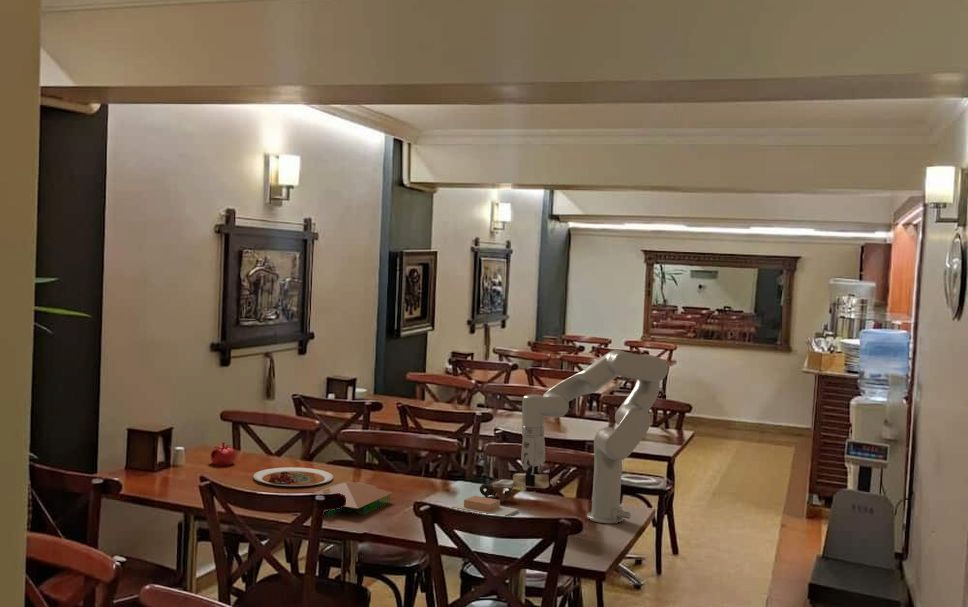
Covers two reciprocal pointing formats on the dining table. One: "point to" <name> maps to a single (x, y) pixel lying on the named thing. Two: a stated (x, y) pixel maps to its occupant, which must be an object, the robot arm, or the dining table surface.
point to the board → (498, 511)
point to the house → (358, 494)
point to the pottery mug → (494, 491)
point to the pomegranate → (223, 455)
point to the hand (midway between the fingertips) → (532, 484)
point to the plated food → (291, 476)
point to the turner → (523, 481)
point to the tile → (481, 503)
